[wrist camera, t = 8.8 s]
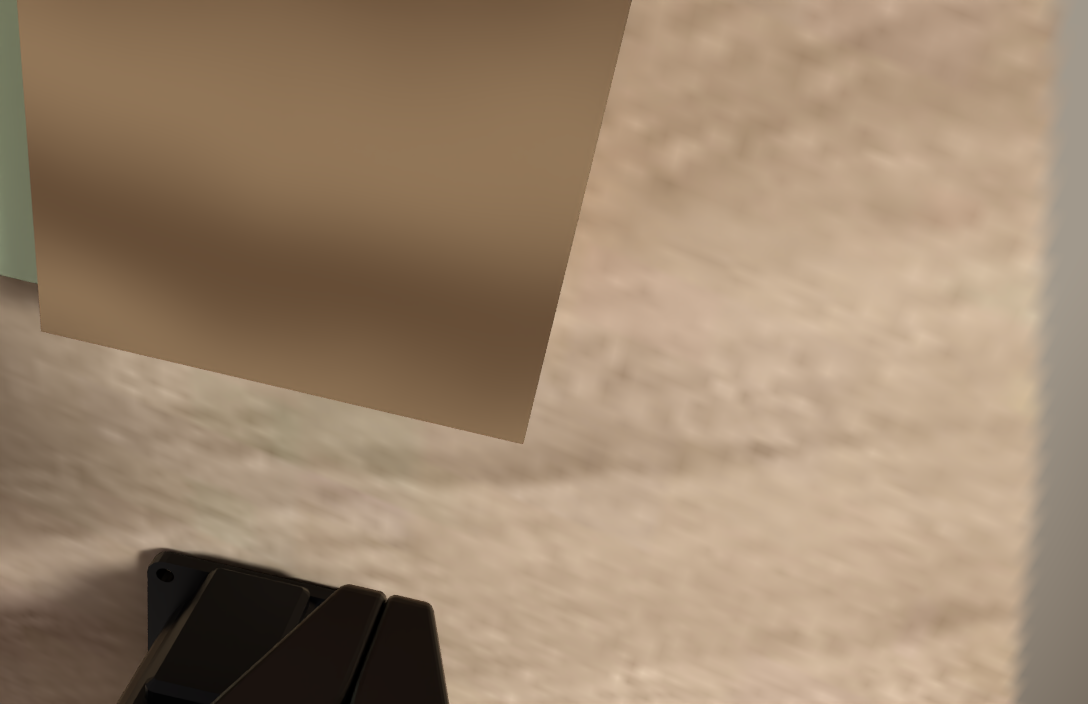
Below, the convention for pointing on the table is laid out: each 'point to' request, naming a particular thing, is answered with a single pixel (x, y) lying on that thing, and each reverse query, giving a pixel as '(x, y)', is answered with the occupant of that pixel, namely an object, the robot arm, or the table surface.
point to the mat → (14, 157)
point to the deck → (318, 188)
